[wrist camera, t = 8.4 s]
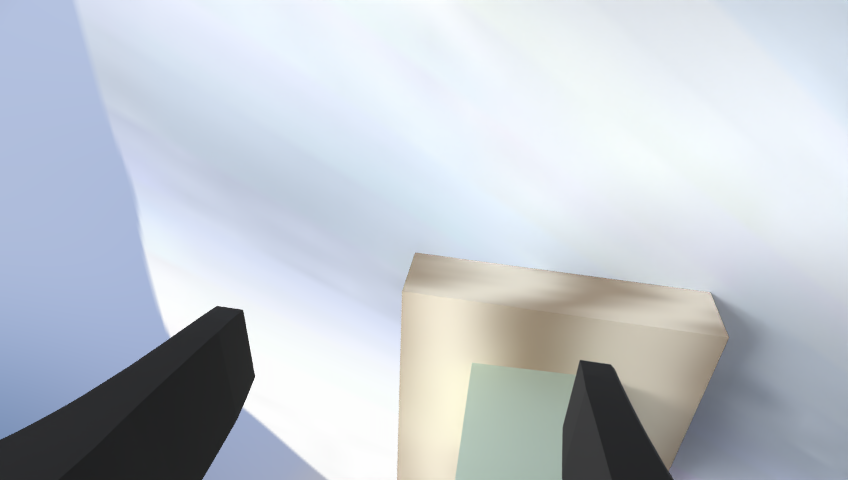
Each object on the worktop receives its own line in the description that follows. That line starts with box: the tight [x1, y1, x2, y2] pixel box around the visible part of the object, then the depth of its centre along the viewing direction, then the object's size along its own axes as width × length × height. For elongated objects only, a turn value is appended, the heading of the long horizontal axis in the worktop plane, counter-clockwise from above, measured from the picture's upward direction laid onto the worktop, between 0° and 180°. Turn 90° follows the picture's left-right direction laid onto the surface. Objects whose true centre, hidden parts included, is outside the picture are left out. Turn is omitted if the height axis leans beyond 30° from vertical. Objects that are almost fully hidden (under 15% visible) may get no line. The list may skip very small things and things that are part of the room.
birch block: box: [397, 253, 729, 480], centre depth 23 cm, size 11×11×3 cm
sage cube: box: [455, 363, 576, 480], centre depth 20 cm, size 5×5×5 cm
